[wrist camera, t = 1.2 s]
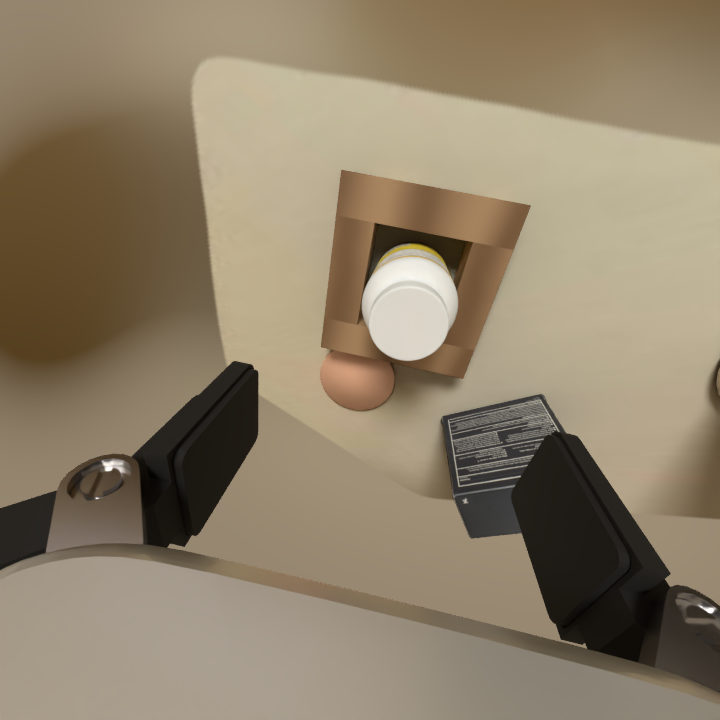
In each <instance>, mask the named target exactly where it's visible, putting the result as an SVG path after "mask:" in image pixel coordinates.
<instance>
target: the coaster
mask: <svg viewBox="0 0 720 720" xmlns="http://www.w3.org/2000/svg"><path fill="white" fill-rule="evenodd" d="M320 377H321V383H322V385H323V388H324V390H325V391H326V393H327V394H328V395H329V396H330V398H331V399H333V400H334V401H335V402H337V403H338V404H340V405H342V406H344V407H347V408H350V409H355V410H367V409H372V408H375V407H377V406H379V405H381V404H382V403H384V402H385V401H386V400H387V399H388V398H389V396H390V395H391V393H392V391H393V388H394V381H395V376H394V370H393V367H392V365H391V363H390V362H386V361H381V360H377V359H372V358H368V357H363V356H359V355H354V354H350V353H345V352H340V351H336V350H333V351H331V352H330V353H329V354H328V356H327V357H326V359H325V360H324V362H323V364H322V367H321V372H320Z"/></svg>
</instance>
